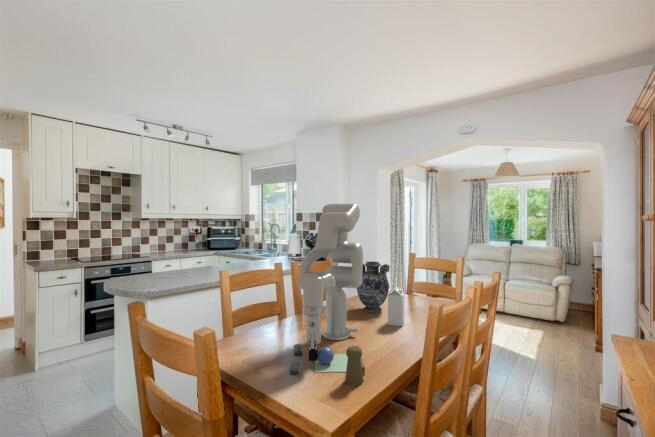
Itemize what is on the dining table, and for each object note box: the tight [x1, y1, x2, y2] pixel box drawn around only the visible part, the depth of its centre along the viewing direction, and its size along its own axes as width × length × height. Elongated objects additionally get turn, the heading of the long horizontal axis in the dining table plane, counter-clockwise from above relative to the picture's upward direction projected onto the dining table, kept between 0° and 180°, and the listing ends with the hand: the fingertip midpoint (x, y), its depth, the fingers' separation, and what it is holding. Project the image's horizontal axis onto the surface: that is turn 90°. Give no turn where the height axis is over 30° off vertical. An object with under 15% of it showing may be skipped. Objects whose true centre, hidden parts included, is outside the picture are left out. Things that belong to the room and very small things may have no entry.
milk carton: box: [387, 285, 405, 327], centre depth 157 cm, size 7×7×19 cm
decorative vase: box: [356, 261, 391, 314], centre depth 180 cm, size 21×19×28 cm
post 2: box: [289, 360, 300, 377], centre depth 106 cm, size 3×3×4 cm
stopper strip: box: [357, 345, 366, 376], centre depth 114 cm, size 2×18×2 cm, turn 1°
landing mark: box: [314, 353, 348, 373], centre depth 114 cm, size 14×14×1 cm
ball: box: [317, 346, 335, 365], centre depth 113 cm, size 6×6×6 cm
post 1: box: [293, 343, 303, 357], centre depth 121 cm, size 3×3×4 cm
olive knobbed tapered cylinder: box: [344, 345, 364, 387], centre depth 101 cm, size 6×6×11 cm
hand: (313, 359), depth 113 cm, fingers closed
